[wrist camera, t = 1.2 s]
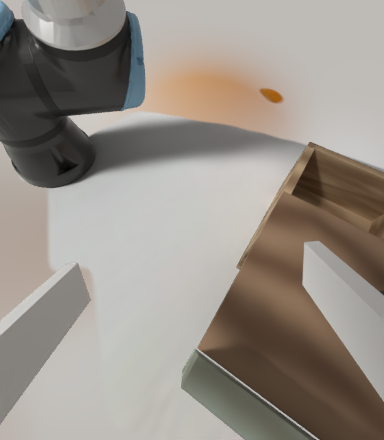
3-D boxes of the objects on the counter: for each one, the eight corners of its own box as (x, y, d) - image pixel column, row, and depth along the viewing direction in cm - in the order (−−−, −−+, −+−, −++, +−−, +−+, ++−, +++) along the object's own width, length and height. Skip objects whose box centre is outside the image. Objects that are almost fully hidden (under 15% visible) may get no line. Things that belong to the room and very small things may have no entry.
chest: (344, 333, 31) (407, 334, 22) (236, 267, 35) (252, 245, 27) (374, 222, 40) (428, 191, 31) (284, 179, 44) (309, 141, 35)
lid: (351, 504, 19) (453, 609, 12) (182, 370, 23) (181, 387, 16) (396, 270, 29) (465, 250, 22) (272, 206, 33) (296, 172, 26)
